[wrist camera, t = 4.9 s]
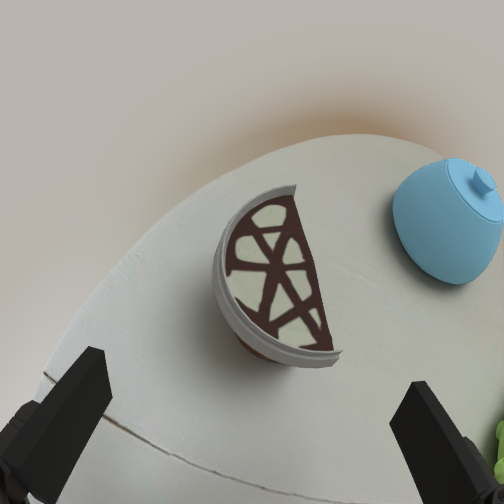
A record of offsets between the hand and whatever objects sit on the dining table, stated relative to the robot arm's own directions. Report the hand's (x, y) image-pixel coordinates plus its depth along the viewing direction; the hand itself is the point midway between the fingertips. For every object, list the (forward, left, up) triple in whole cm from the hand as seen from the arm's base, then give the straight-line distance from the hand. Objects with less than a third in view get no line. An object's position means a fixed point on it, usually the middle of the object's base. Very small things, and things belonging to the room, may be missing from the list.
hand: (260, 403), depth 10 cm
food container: (0, +8, -12) cm, 15 cm away
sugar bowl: (+22, +20, -12) cm, 32 cm away
